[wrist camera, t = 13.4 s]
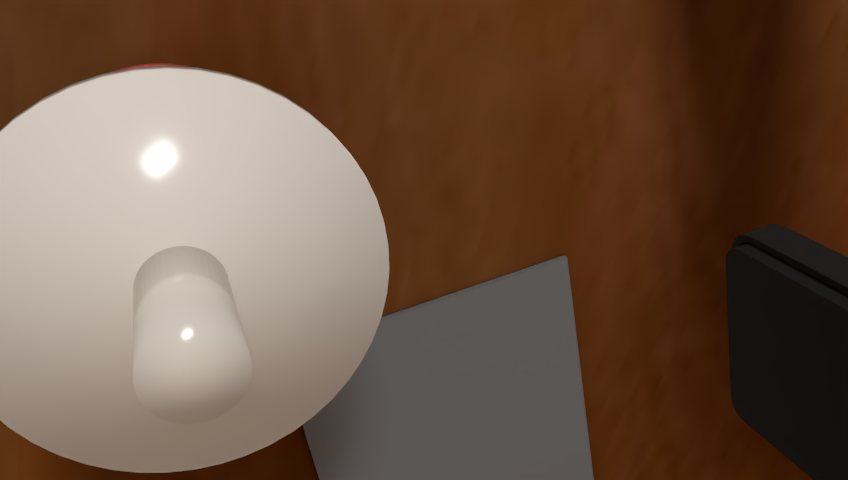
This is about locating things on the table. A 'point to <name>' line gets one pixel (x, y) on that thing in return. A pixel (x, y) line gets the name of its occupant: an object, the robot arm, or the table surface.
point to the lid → (179, 269)
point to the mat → (465, 390)
